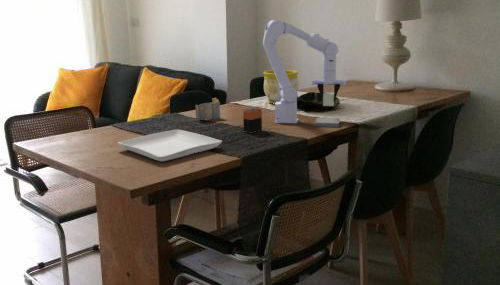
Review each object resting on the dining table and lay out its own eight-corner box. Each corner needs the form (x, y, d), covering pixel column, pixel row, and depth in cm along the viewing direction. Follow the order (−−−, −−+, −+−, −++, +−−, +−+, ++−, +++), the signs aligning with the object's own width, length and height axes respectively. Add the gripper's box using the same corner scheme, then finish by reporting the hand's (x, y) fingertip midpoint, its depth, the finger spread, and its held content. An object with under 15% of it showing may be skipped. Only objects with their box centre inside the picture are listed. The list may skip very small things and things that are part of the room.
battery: (243, 132, 206) (242, 108, 204) (254, 129, 211) (254, 105, 209) (250, 133, 204) (250, 109, 201) (262, 130, 208) (262, 106, 206)
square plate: (116, 151, 183) (115, 141, 182) (178, 137, 201) (177, 128, 200) (160, 166, 164) (159, 155, 163) (224, 149, 183) (223, 139, 182)
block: (323, 105, 222) (323, 94, 221) (323, 103, 227) (323, 92, 225) (333, 105, 222) (333, 94, 220) (333, 104, 226) (334, 92, 225)
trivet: (314, 126, 214) (314, 122, 214) (316, 121, 223) (316, 117, 223) (338, 127, 212) (338, 123, 212) (339, 121, 221) (339, 118, 221)
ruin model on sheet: (216, 117, 237) (216, 97, 234) (220, 119, 235) (219, 98, 232) (195, 121, 230) (194, 100, 228) (199, 122, 228) (198, 101, 226)
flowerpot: (259, 105, 264) (259, 73, 260) (269, 99, 280) (268, 69, 276) (293, 106, 258) (293, 74, 254) (301, 100, 275) (301, 69, 271)
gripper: (346, 69, 223) (345, 99, 226) (313, 69, 225) (312, 99, 229) (346, 71, 216) (345, 102, 219) (311, 70, 219) (311, 102, 222)
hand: (328, 101), depth 224 cm, fingers closed on block, 4 cm apart
